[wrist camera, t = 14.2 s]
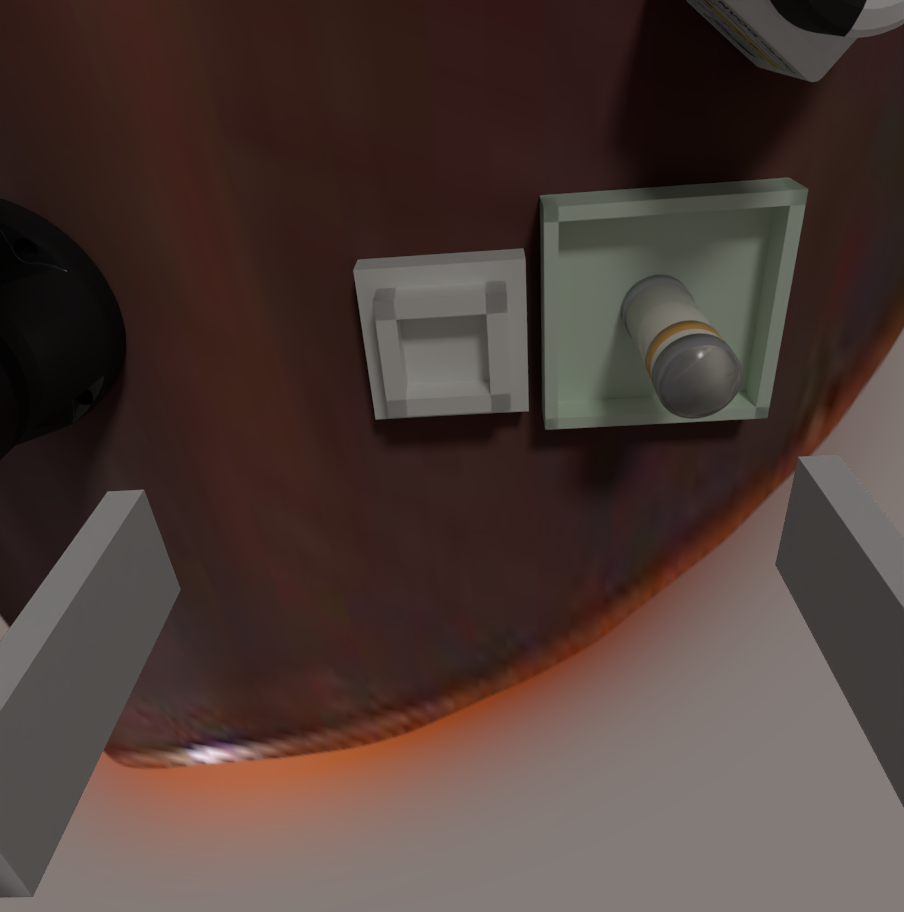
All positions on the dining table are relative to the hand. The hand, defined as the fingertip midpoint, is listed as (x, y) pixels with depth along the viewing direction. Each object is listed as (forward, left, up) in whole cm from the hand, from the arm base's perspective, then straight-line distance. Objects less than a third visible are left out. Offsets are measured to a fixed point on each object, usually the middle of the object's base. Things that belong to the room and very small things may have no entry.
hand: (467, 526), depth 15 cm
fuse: (+11, -8, -31) cm, 34 cm away
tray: (+11, -8, -32) cm, 34 cm away
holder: (-2, -9, -32) cm, 33 cm away
